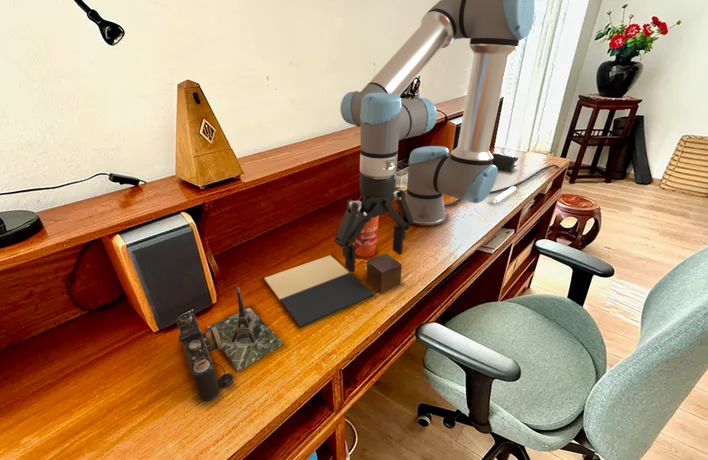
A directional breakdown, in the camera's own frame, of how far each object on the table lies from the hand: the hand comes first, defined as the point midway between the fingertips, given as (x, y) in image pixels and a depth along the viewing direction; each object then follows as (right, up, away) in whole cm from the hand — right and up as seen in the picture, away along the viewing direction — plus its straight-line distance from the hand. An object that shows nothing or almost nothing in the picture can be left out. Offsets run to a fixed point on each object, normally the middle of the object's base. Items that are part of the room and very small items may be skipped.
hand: (374, 260), depth 85 cm
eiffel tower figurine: (-27, -15, -11) cm, 33 cm away
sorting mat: (-14, -7, +3) cm, 16 cm away
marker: (+51, +19, +51) cm, 74 cm away
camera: (-32, -18, -17) cm, 41 cm away
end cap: (+61, +34, +79) cm, 105 cm away
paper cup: (-2, +1, +18) cm, 18 cm away
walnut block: (+2, -6, +5) cm, 8 cm away
